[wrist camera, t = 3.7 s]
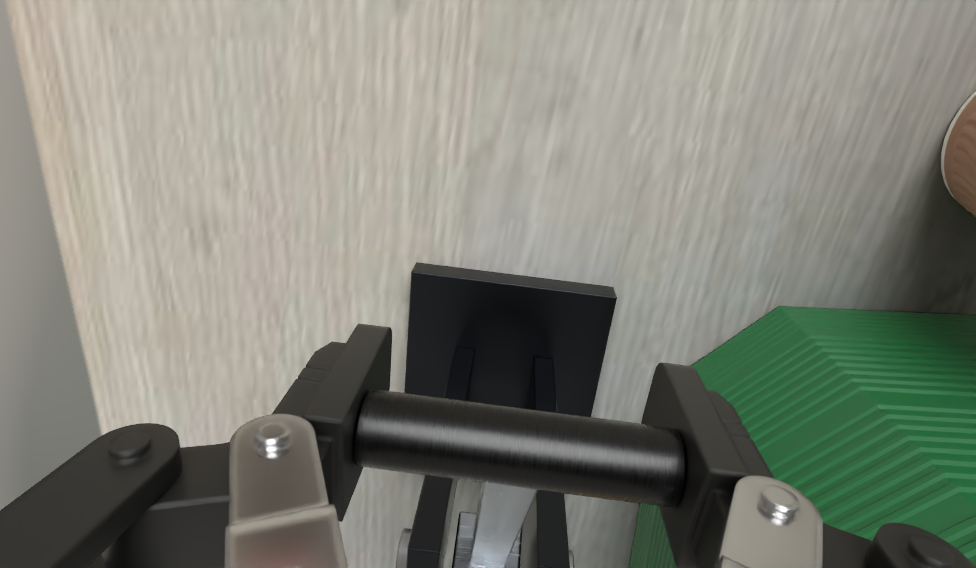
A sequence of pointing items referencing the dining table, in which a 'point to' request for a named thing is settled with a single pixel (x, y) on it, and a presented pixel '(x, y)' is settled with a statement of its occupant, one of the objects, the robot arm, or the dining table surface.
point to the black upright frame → (501, 379)
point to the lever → (516, 461)
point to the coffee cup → (961, 156)
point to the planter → (853, 418)
